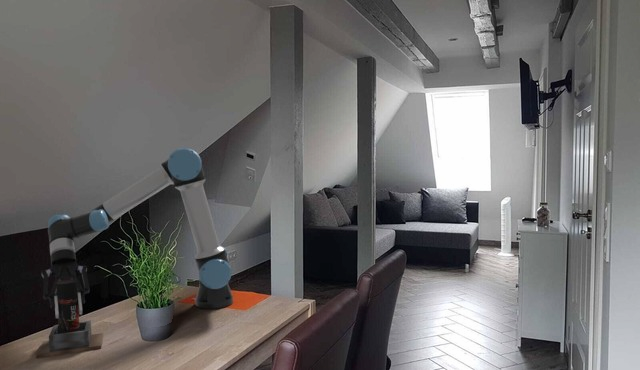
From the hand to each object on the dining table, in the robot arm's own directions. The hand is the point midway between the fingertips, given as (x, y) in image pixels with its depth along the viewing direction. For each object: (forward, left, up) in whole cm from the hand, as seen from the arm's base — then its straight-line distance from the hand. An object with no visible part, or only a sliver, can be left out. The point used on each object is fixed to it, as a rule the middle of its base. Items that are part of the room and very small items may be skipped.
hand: (69, 314), depth 152 cm
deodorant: (+1, -4, -6) cm, 7 cm away
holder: (0, -3, -12) cm, 12 cm away
